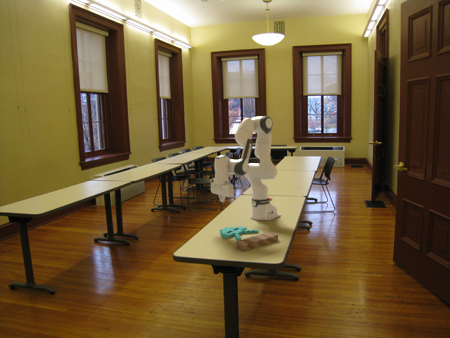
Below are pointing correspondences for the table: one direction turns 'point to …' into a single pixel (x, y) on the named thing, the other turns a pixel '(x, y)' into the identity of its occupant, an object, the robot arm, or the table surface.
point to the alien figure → (235, 232)
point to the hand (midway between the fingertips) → (222, 201)
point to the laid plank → (256, 241)
